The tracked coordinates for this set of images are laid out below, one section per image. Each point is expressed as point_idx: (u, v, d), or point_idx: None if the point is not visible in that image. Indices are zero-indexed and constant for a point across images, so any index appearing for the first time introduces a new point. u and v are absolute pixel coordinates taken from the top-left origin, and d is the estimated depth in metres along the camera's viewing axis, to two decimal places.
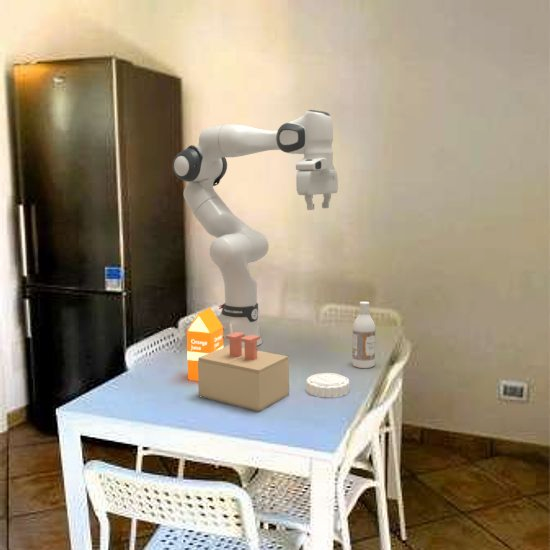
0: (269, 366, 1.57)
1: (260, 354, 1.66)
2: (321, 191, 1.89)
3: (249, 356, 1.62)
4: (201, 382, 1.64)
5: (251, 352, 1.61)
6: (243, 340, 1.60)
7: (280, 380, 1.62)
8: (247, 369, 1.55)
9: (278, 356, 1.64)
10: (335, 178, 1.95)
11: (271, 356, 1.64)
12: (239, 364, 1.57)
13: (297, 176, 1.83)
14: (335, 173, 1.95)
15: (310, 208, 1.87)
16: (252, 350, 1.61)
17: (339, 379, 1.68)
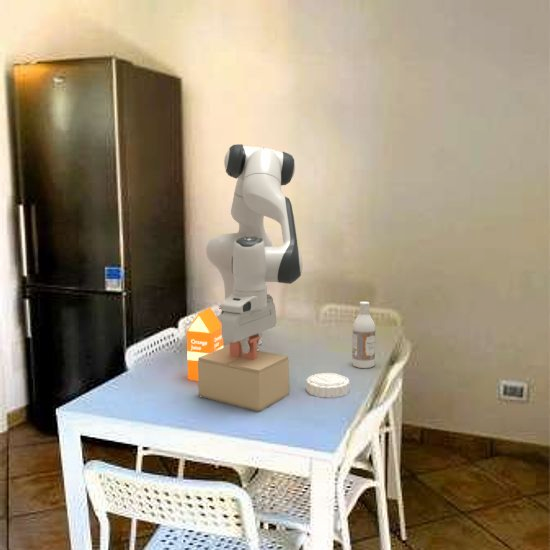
0: (269, 366, 1.57)
1: (260, 354, 1.66)
2: (254, 332, 1.59)
3: (249, 356, 1.62)
4: (201, 382, 1.64)
5: (251, 352, 1.61)
6: None
7: (280, 380, 1.62)
8: (247, 369, 1.55)
9: (278, 356, 1.64)
10: (273, 311, 1.66)
11: (271, 356, 1.64)
12: (239, 364, 1.57)
13: (222, 319, 1.54)
14: (272, 306, 1.66)
15: (246, 351, 1.60)
16: (252, 350, 1.61)
17: (339, 379, 1.68)
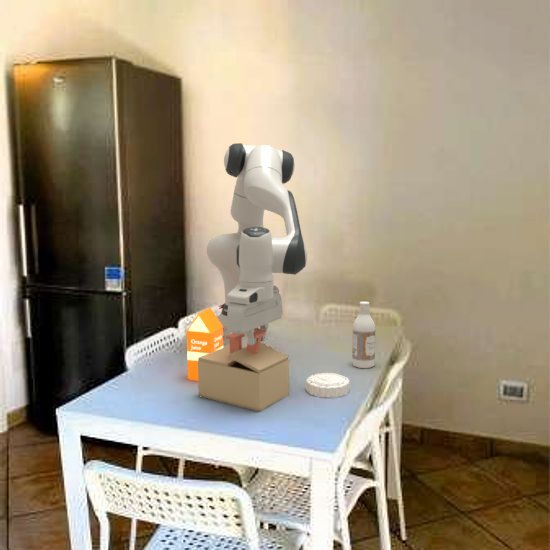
0: (269, 366, 1.57)
1: (261, 347, 1.65)
2: (260, 324, 1.58)
3: (251, 349, 1.61)
4: (201, 382, 1.64)
5: (253, 346, 1.60)
6: None
7: (280, 380, 1.62)
8: (247, 365, 1.55)
9: (279, 354, 1.64)
10: (279, 302, 1.65)
11: (272, 352, 1.64)
12: (240, 357, 1.57)
13: (228, 310, 1.52)
14: (278, 297, 1.64)
15: (251, 343, 1.58)
16: (255, 345, 1.60)
17: (339, 379, 1.68)
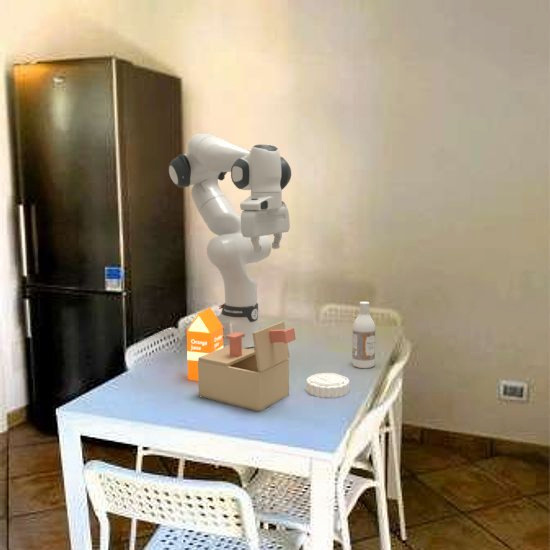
0: (270, 366, 1.57)
1: None
2: (269, 232, 1.75)
3: (272, 336, 1.57)
4: (201, 382, 1.64)
5: (276, 338, 1.56)
6: (283, 334, 1.53)
7: (280, 380, 1.62)
8: (257, 357, 1.53)
9: (285, 350, 1.62)
10: (286, 216, 1.82)
11: (282, 345, 1.61)
12: (259, 343, 1.53)
13: (241, 217, 1.69)
14: (285, 211, 1.81)
15: (257, 250, 1.73)
16: (278, 340, 1.56)
17: (339, 379, 1.68)
